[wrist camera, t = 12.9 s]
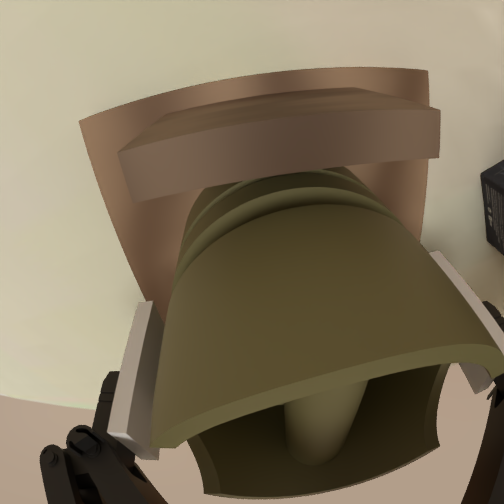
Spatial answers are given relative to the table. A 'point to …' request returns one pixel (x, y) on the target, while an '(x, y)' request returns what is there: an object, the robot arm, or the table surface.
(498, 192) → the small box
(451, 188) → the table surface
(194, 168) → the roll stand
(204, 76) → the table surface
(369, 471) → the piston
